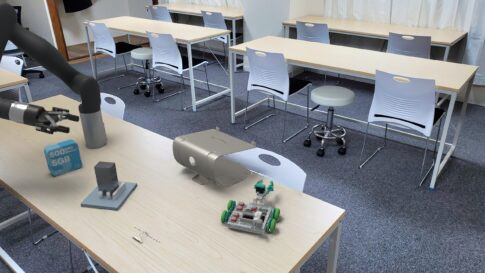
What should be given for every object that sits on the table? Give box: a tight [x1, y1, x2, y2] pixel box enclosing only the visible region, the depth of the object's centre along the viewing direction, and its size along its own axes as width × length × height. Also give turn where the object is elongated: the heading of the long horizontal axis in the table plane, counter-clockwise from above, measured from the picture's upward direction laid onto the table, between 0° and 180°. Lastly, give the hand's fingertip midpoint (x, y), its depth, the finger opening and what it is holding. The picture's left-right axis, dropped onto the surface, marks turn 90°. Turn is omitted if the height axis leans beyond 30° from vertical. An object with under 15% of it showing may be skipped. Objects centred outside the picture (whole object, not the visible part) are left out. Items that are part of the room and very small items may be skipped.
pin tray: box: [80, 180, 138, 212], centre depth 137 cm, size 16×14×4 cm
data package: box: [43, 139, 83, 177], centre depth 152 cm, size 12×4×12 cm, turn 132°
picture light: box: [132, 224, 162, 244], centre depth 118 cm, size 14×4×2 cm, turn 52°
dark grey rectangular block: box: [93, 160, 119, 197], centre depth 135 cm, size 4×6×12 cm, turn 80°
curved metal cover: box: [172, 126, 257, 187], centre depth 150 cm, size 26×24×16 cm
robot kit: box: [220, 179, 281, 235], centre depth 127 cm, size 19×25×9 cm
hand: (74, 124), depth 133 cm, fingers open, 8 cm apart
